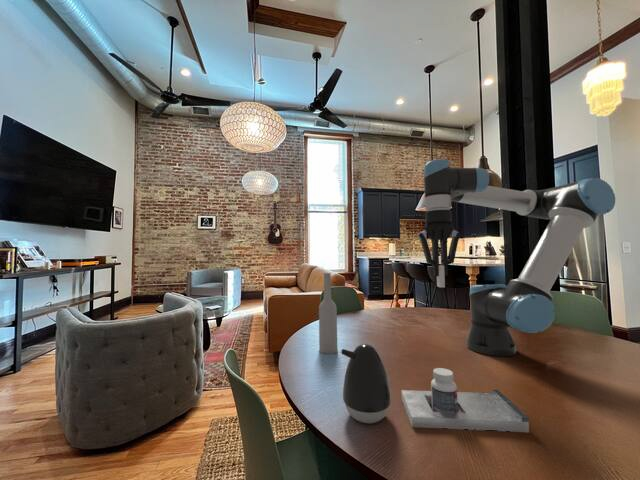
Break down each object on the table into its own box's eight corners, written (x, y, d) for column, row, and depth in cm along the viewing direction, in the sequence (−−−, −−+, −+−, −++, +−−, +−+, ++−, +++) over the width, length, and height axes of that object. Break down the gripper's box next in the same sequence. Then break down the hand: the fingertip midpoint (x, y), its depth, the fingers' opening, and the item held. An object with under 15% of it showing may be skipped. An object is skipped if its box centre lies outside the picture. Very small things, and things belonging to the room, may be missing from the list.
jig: (498, 402, 64) (497, 389, 65) (529, 432, 54) (528, 417, 54) (401, 398, 67) (401, 386, 67) (412, 427, 56) (411, 412, 56)
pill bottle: (461, 421, 57) (459, 377, 58) (434, 419, 58) (433, 376, 59) (454, 407, 63) (452, 367, 63) (429, 405, 64) (428, 366, 64)
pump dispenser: (339, 404, 64) (337, 338, 65) (382, 402, 65) (380, 336, 66) (346, 433, 54) (345, 354, 55) (398, 429, 55) (396, 351, 56)
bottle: (320, 347, 104) (319, 272, 106) (337, 347, 104) (336, 272, 105) (318, 353, 98) (317, 273, 99) (337, 354, 97) (335, 273, 98)
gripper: (455, 211, 89) (458, 285, 88) (413, 213, 91) (416, 285, 90) (465, 208, 82) (468, 288, 81) (419, 209, 83) (422, 288, 82)
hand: (440, 286), depth 85 cm, fingers closed
